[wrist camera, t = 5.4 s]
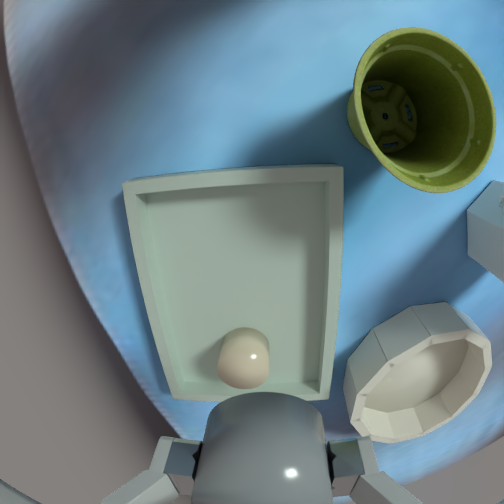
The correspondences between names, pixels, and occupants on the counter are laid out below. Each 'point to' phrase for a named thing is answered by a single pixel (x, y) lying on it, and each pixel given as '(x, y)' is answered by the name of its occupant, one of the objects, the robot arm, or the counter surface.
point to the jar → (487, 229)
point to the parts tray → (241, 271)
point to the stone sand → (244, 358)
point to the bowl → (415, 372)
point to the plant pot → (423, 109)
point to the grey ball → (263, 453)
